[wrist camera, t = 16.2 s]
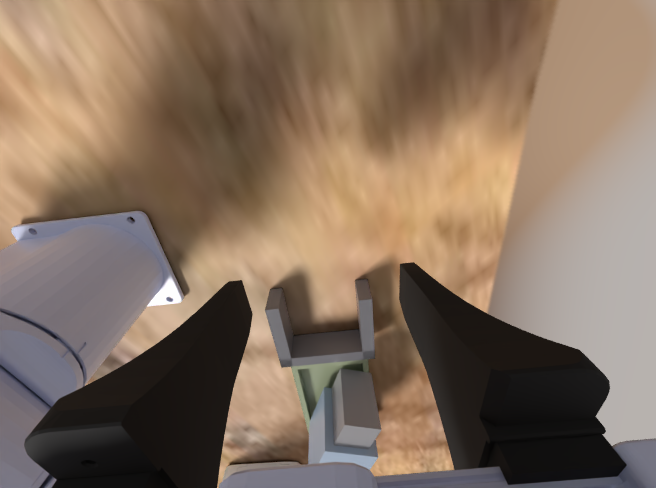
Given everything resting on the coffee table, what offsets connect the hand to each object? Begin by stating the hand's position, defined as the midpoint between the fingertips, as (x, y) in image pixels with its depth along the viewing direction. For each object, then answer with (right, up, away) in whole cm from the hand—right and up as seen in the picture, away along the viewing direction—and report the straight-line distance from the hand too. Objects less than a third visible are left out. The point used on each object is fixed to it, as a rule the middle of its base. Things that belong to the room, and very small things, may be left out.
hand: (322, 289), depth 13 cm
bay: (0, -4, +12) cm, 12 cm away
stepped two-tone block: (+2, -13, +15) cm, 20 cm away
